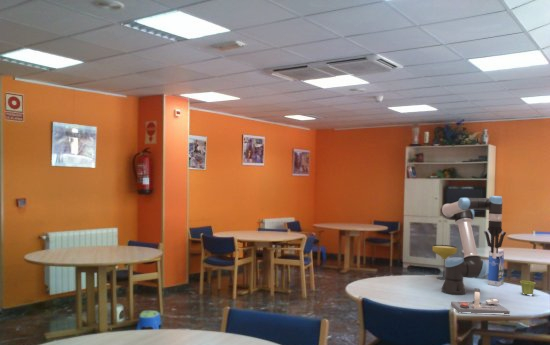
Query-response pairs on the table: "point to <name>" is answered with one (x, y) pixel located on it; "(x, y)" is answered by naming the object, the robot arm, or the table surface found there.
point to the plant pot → (527, 287)
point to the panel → (485, 308)
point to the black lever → (474, 294)
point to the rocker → (492, 301)
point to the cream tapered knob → (477, 300)
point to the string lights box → (496, 268)
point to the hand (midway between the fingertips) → (494, 258)
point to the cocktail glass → (444, 254)
